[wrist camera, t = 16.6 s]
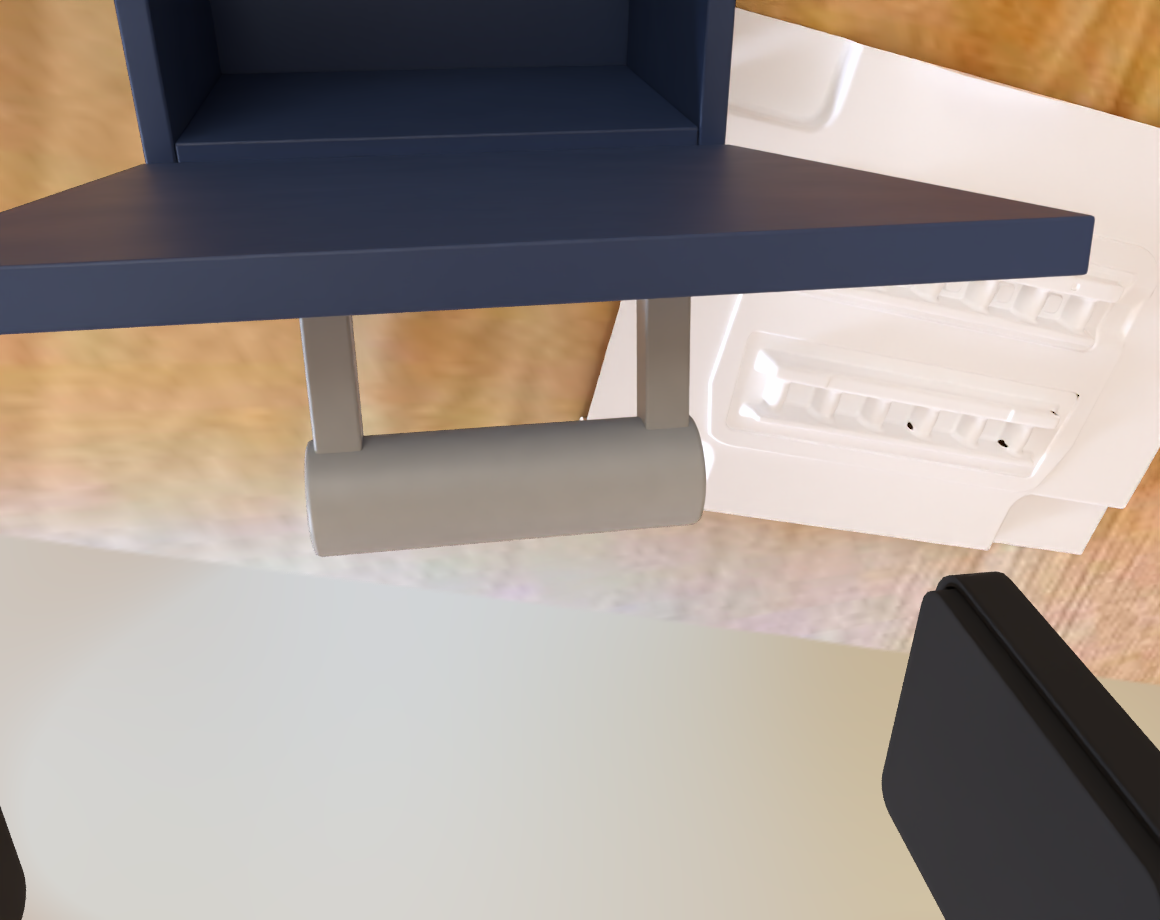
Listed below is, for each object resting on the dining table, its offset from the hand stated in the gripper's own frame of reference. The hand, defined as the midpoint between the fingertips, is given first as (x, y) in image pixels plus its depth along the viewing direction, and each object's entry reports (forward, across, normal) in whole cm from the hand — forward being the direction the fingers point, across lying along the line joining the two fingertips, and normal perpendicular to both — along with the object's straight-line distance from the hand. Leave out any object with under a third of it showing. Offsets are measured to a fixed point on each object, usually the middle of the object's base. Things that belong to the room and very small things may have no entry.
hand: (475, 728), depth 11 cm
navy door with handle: (+13, -1, -2) cm, 13 cm away
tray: (+32, -22, +10) cm, 40 cm away
